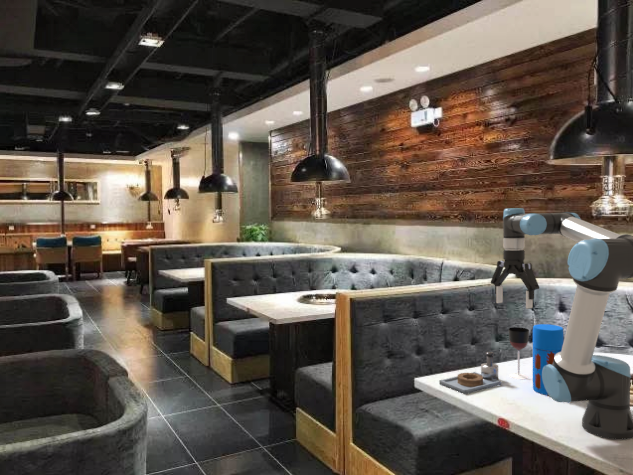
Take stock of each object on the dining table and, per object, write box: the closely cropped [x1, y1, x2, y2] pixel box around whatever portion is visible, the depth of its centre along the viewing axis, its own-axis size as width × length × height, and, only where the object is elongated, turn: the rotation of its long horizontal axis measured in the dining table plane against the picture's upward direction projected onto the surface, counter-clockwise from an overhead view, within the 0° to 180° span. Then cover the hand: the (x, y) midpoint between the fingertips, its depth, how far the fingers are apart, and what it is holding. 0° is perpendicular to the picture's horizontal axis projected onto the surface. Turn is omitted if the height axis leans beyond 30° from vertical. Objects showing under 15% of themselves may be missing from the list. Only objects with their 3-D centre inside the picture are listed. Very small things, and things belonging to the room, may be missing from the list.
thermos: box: [532, 323, 564, 396], centre depth 203 cm, size 11×11×25 cm
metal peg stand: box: [480, 351, 500, 381], centre depth 218 cm, size 7×7×11 cm
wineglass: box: [508, 326, 530, 380], centre depth 221 cm, size 8×9×20 cm
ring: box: [457, 372, 483, 387], centre depth 213 cm, size 10×10×2 cm
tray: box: [438, 371, 502, 395], centre depth 213 cm, size 14×20×2 cm
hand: (513, 305), depth 198 cm, fingers open, 13 cm apart
